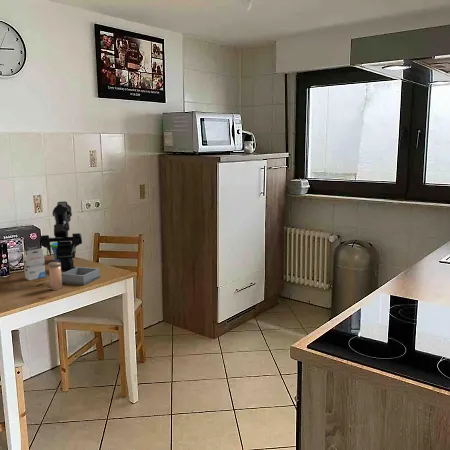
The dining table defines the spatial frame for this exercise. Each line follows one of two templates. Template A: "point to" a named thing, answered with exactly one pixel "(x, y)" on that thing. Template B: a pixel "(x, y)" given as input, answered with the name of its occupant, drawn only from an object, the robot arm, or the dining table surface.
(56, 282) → the jar
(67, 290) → the dining table surface
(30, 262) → the ink box
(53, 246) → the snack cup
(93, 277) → the box
